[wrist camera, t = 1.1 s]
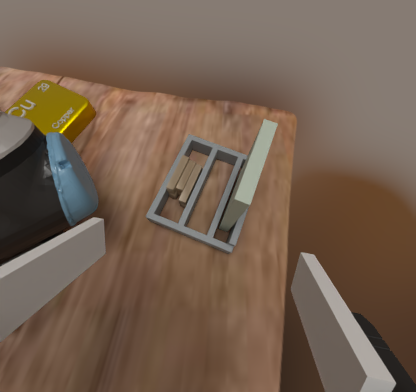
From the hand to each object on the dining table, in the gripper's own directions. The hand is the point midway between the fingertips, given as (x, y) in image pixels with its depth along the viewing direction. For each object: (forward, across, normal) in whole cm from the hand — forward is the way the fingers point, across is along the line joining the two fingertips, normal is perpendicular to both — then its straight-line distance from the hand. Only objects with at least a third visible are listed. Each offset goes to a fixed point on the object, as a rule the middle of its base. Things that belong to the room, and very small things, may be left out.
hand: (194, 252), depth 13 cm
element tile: (+36, -45, +7) cm, 58 cm away
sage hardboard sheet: (+31, +2, -7) cm, 32 cm away
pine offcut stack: (+32, -9, -4) cm, 33 cm away
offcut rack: (+32, -4, -5) cm, 32 cm away
